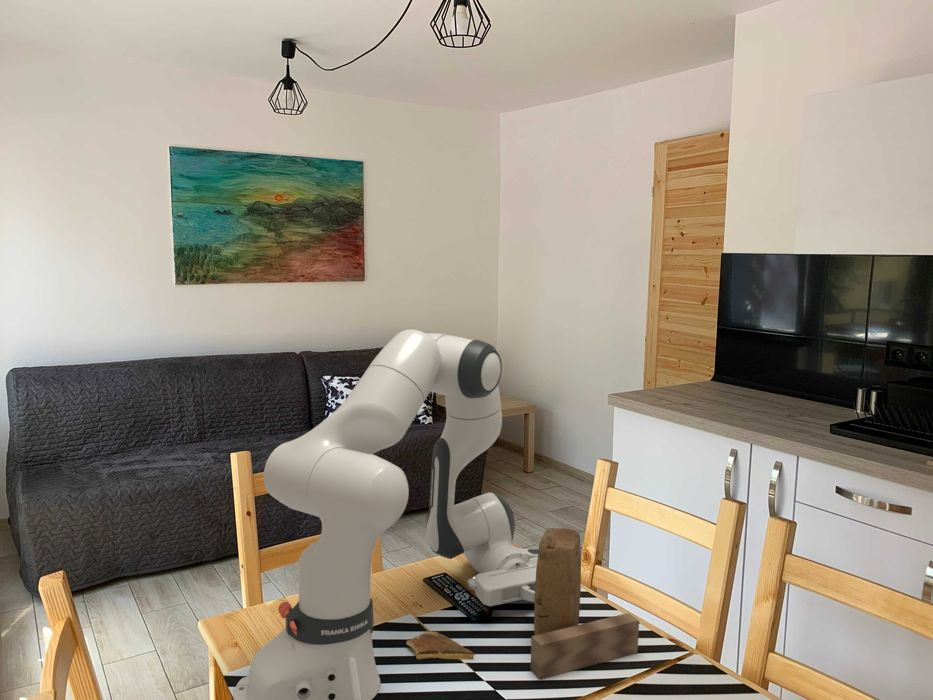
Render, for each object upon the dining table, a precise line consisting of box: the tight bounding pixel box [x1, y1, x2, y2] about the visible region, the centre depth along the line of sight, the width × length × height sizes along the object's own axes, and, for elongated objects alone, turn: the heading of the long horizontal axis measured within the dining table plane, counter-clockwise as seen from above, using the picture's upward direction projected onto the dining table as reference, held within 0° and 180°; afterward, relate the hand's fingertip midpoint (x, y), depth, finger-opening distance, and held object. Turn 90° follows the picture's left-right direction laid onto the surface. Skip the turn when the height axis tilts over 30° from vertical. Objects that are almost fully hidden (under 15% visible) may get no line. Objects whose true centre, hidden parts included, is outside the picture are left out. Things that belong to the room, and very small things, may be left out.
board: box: [530, 612, 640, 680], centre depth 122 cm, size 20×3×6 cm, turn 115°
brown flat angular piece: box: [406, 630, 476, 660], centre depth 123 cm, size 11×8×2 cm
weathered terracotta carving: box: [533, 527, 582, 636], centre depth 128 cm, size 11×8×20 cm
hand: (545, 599), depth 133 cm, fingers closed
